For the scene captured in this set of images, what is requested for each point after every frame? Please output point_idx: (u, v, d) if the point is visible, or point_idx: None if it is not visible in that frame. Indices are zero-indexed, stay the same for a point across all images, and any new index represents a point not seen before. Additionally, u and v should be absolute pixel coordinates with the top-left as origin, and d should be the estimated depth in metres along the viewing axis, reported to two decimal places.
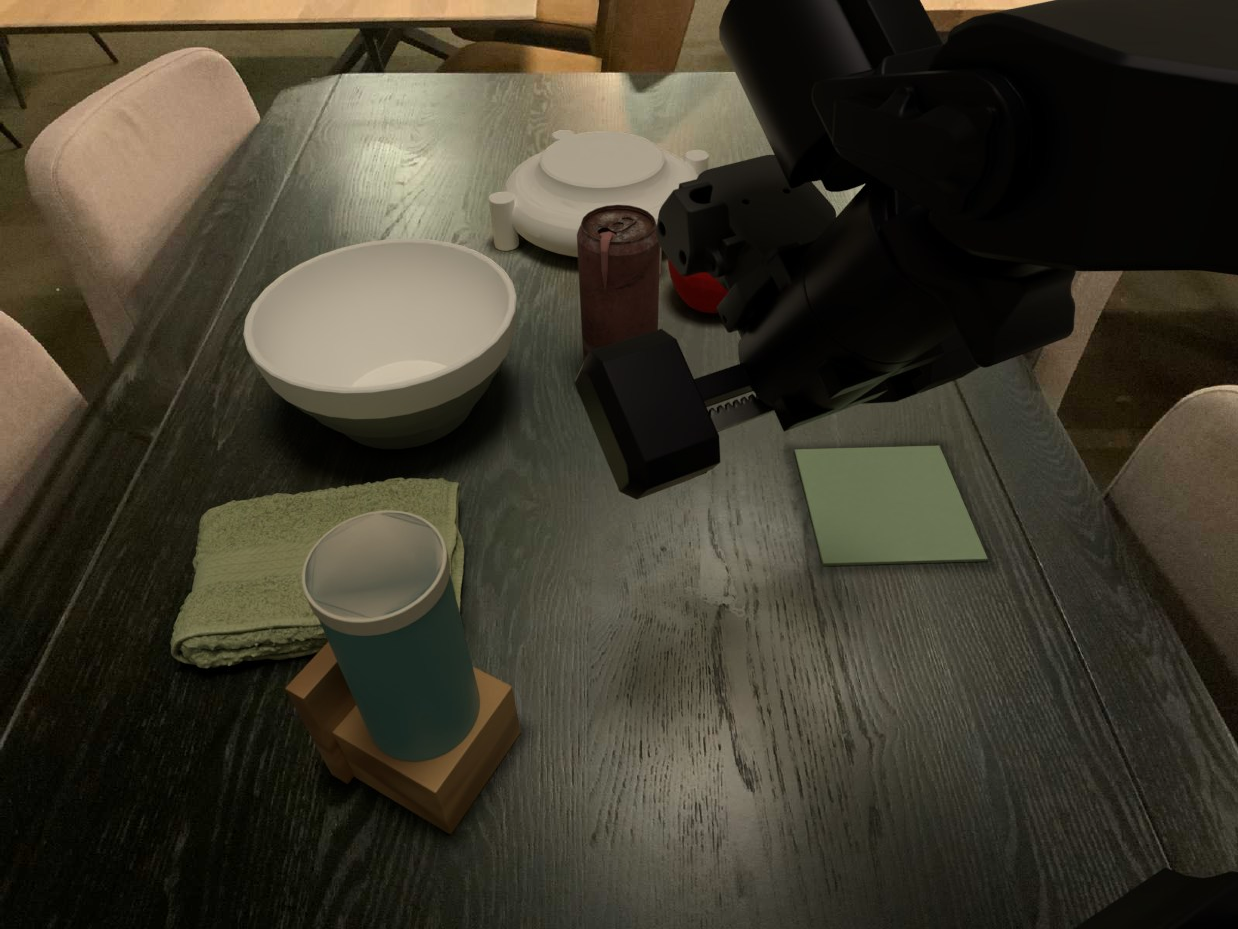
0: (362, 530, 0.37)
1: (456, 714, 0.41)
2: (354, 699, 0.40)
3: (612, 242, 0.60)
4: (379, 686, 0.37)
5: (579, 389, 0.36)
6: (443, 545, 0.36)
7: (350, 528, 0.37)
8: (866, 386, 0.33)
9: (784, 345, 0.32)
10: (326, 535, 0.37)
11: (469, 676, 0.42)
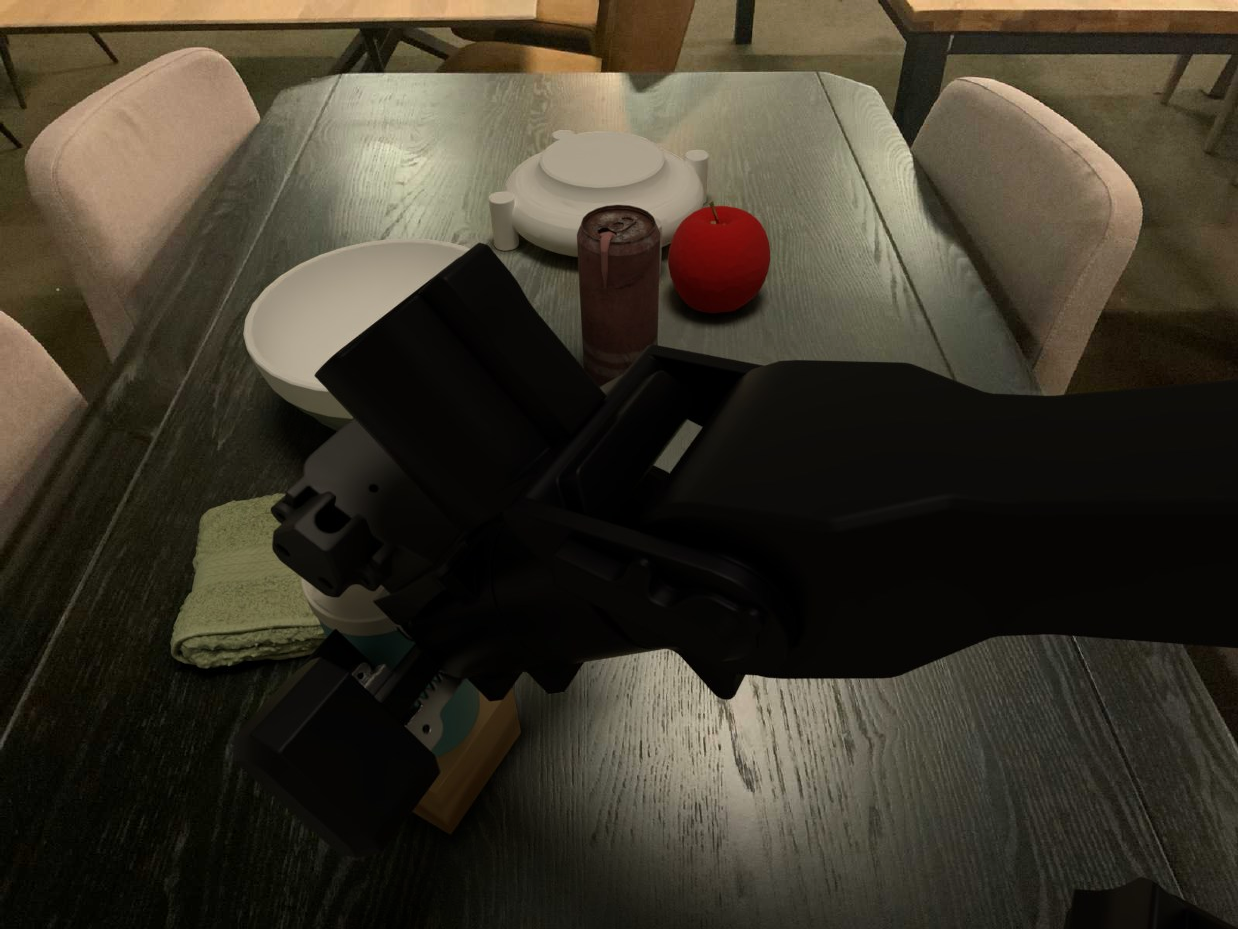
0: None
1: (456, 714, 0.41)
2: None
3: (612, 242, 0.60)
4: None
5: (246, 769, 0.29)
6: None
7: None
8: None
9: (483, 654, 0.29)
10: None
11: None
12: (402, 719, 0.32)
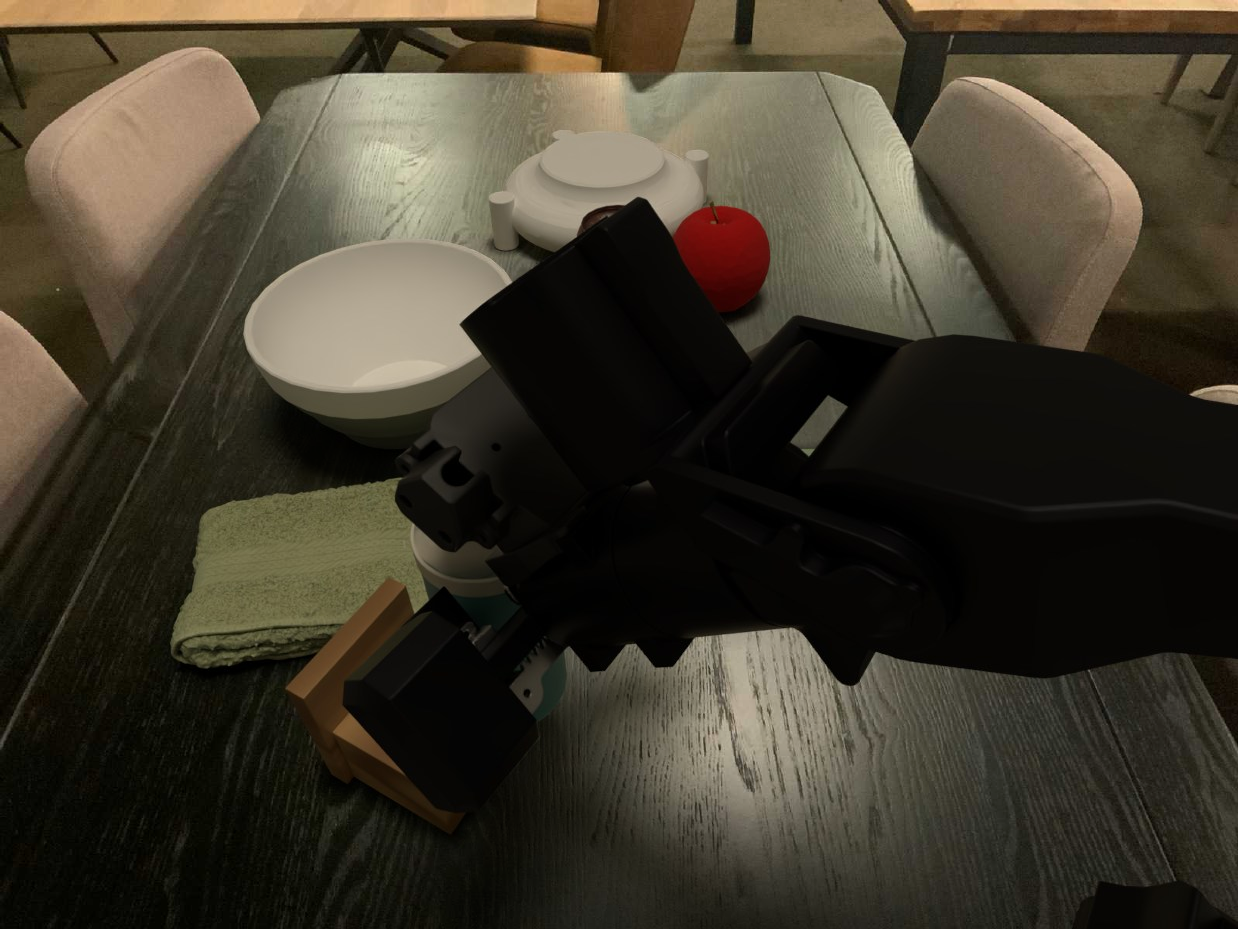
0: None
1: (545, 686, 0.41)
2: None
3: None
4: None
5: (354, 714, 0.29)
6: None
7: None
8: None
9: (593, 621, 0.29)
10: None
11: None
12: None
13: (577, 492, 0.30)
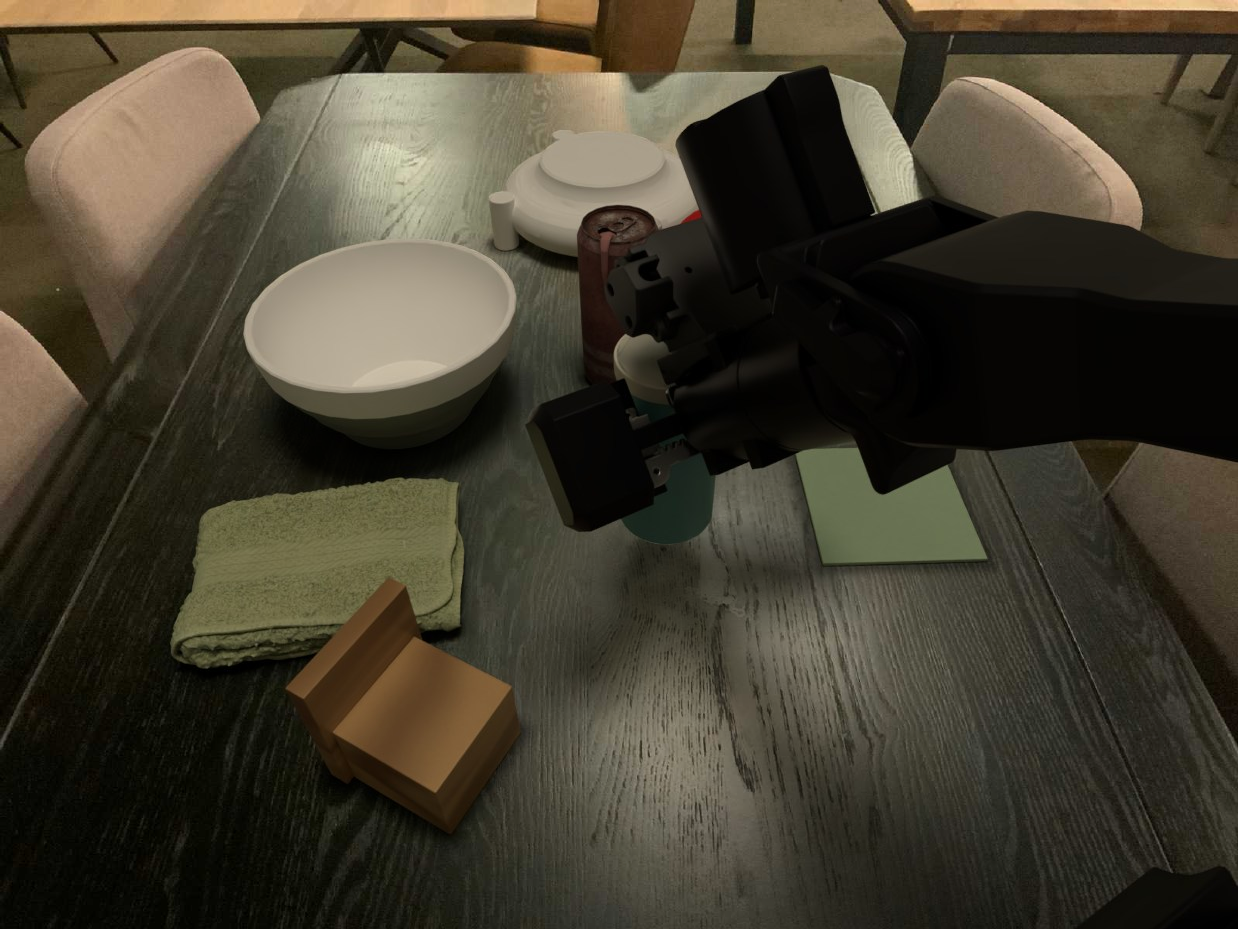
0: None
1: (686, 513, 0.49)
2: None
3: (612, 242, 0.60)
4: None
5: (530, 432, 0.39)
6: None
7: None
8: None
9: (716, 417, 0.37)
10: None
11: (708, 489, 0.49)
12: None
13: (737, 320, 0.37)
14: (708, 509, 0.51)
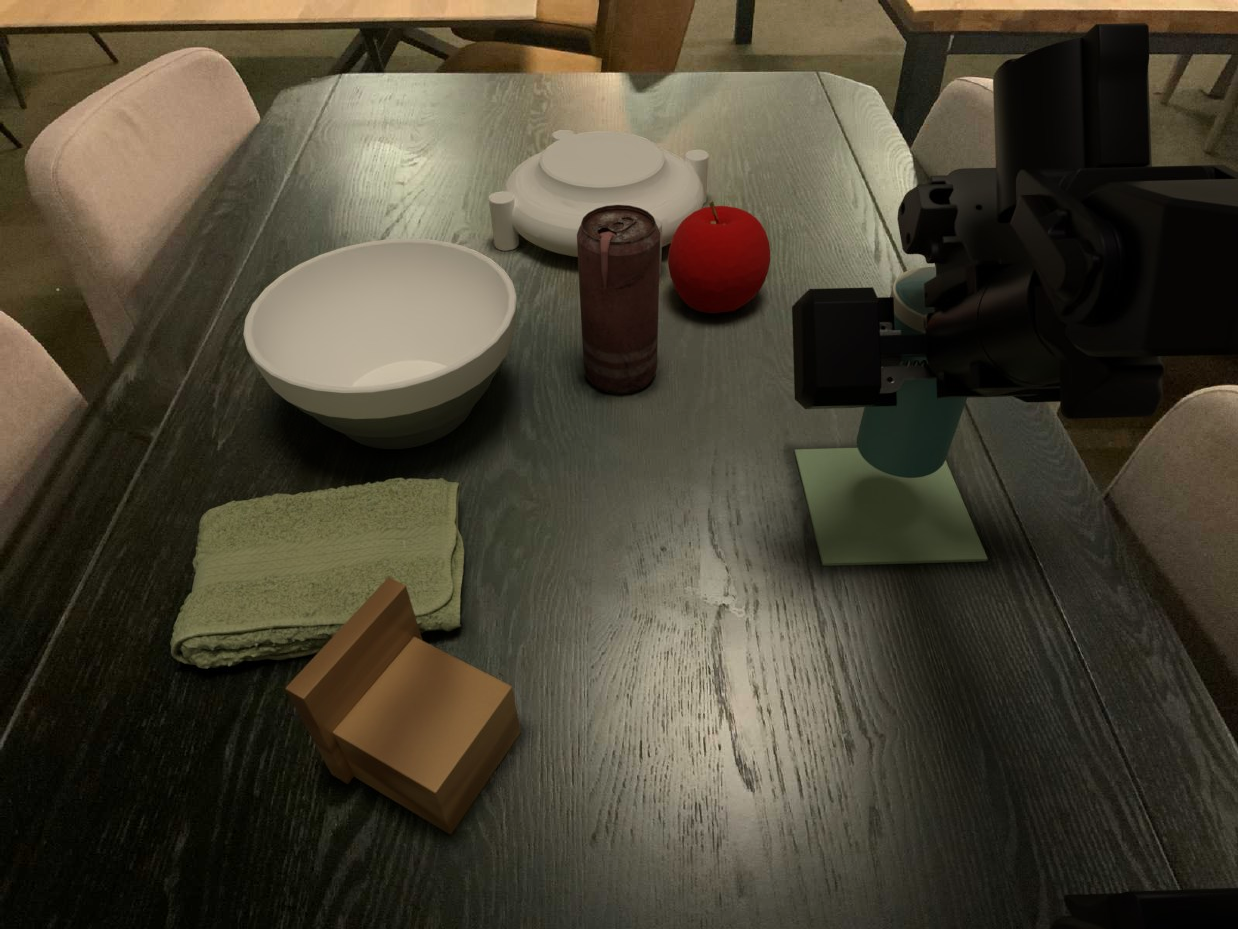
0: None
1: (915, 449, 0.53)
2: None
3: (612, 242, 0.60)
4: None
5: (793, 313, 0.46)
6: None
7: None
8: (1008, 389, 0.41)
9: (954, 337, 0.41)
10: None
11: (943, 434, 0.53)
12: (883, 366, 0.46)
13: (1007, 260, 0.41)
14: (938, 455, 0.54)
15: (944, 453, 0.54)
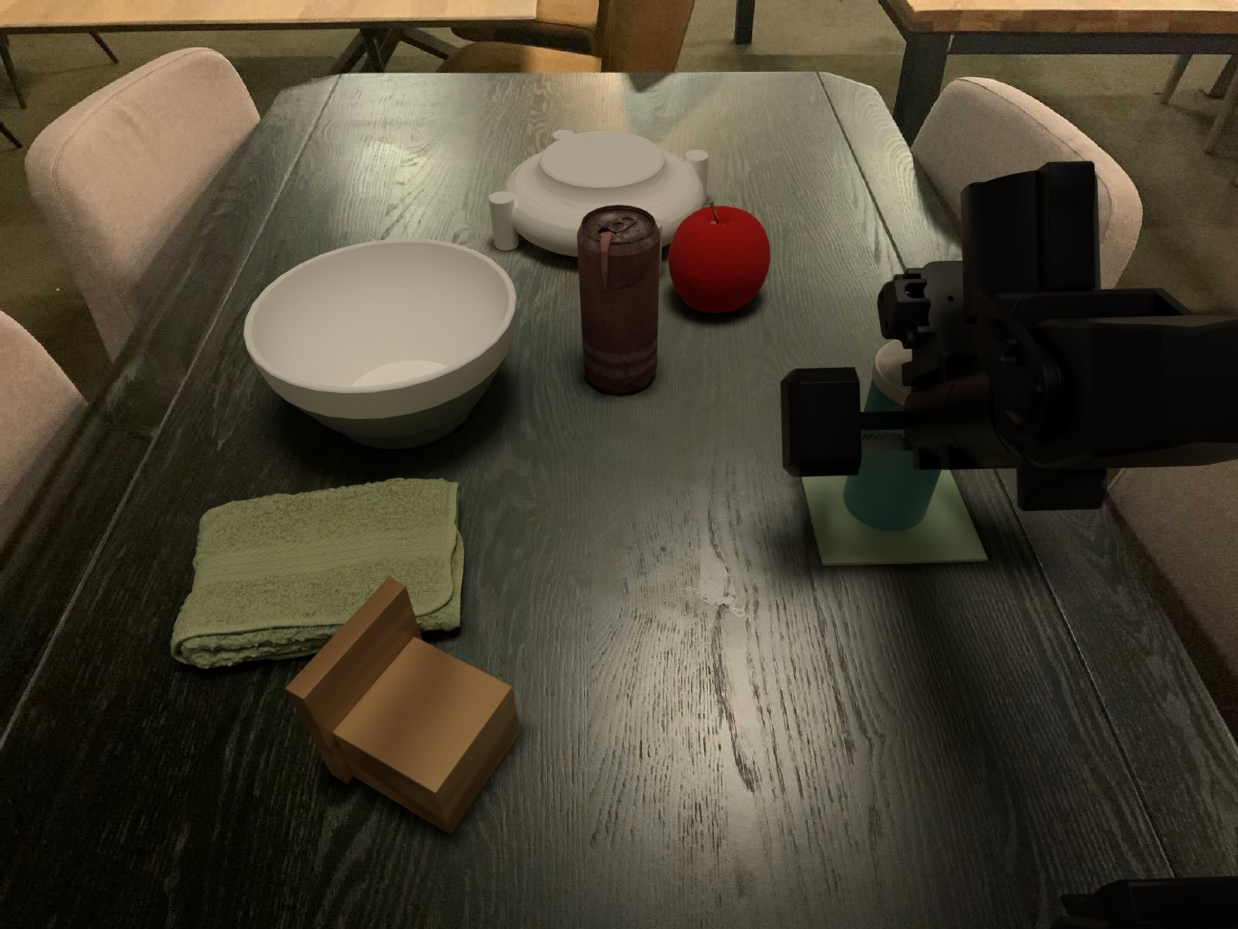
0: None
1: (897, 505, 0.57)
2: None
3: (612, 242, 0.60)
4: None
5: (781, 388, 0.50)
6: None
7: None
8: None
9: (927, 420, 0.45)
10: None
11: (923, 492, 0.56)
12: None
13: None
14: (919, 511, 0.58)
15: (924, 508, 0.58)
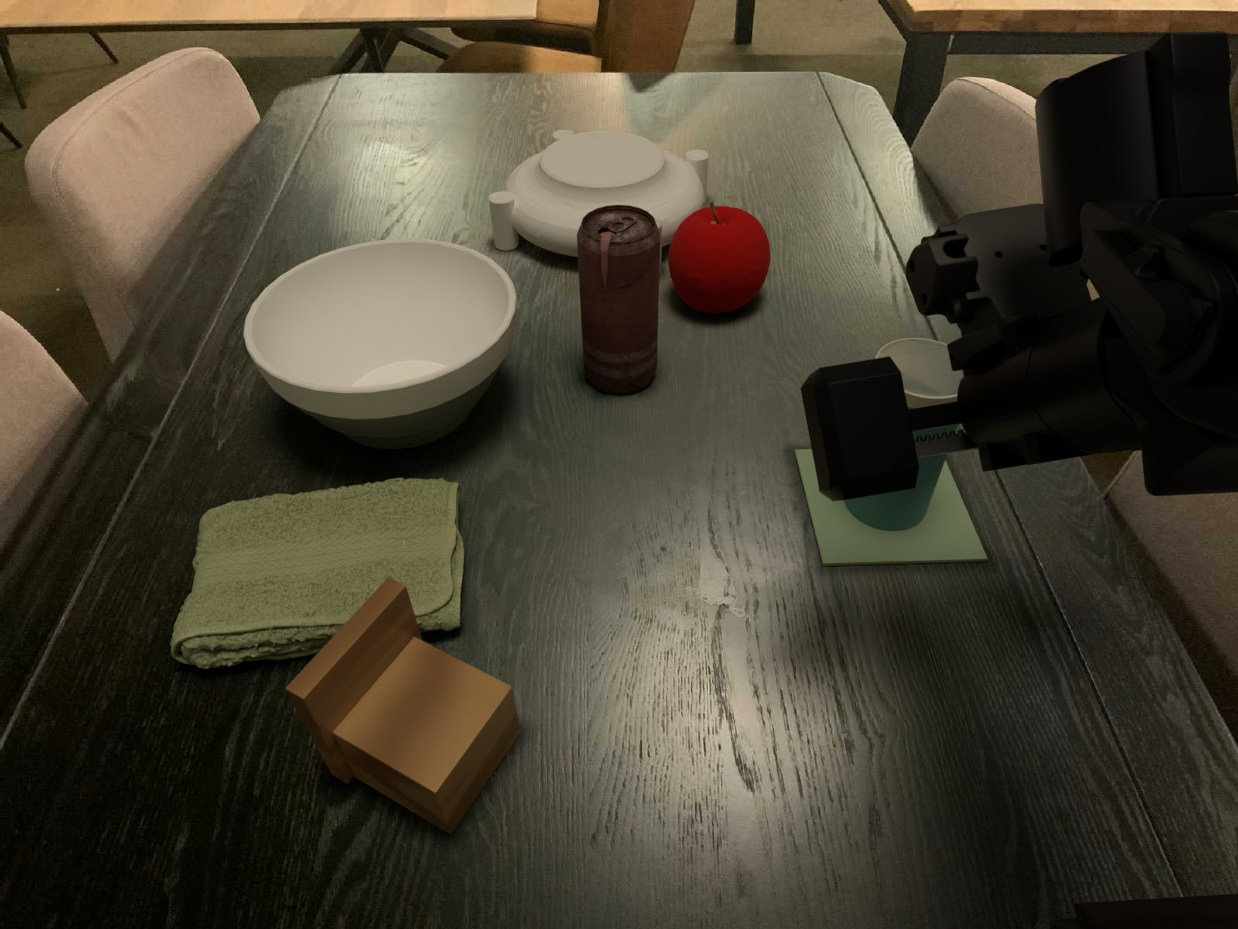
0: (935, 349, 0.54)
1: (897, 505, 0.57)
2: None
3: (612, 242, 0.60)
4: None
5: (804, 395, 0.41)
6: None
7: (930, 344, 0.54)
8: None
9: (998, 405, 0.35)
10: (915, 338, 0.54)
11: (923, 492, 0.56)
12: None
13: (1043, 311, 0.36)
14: (919, 511, 0.58)
15: (924, 508, 0.58)
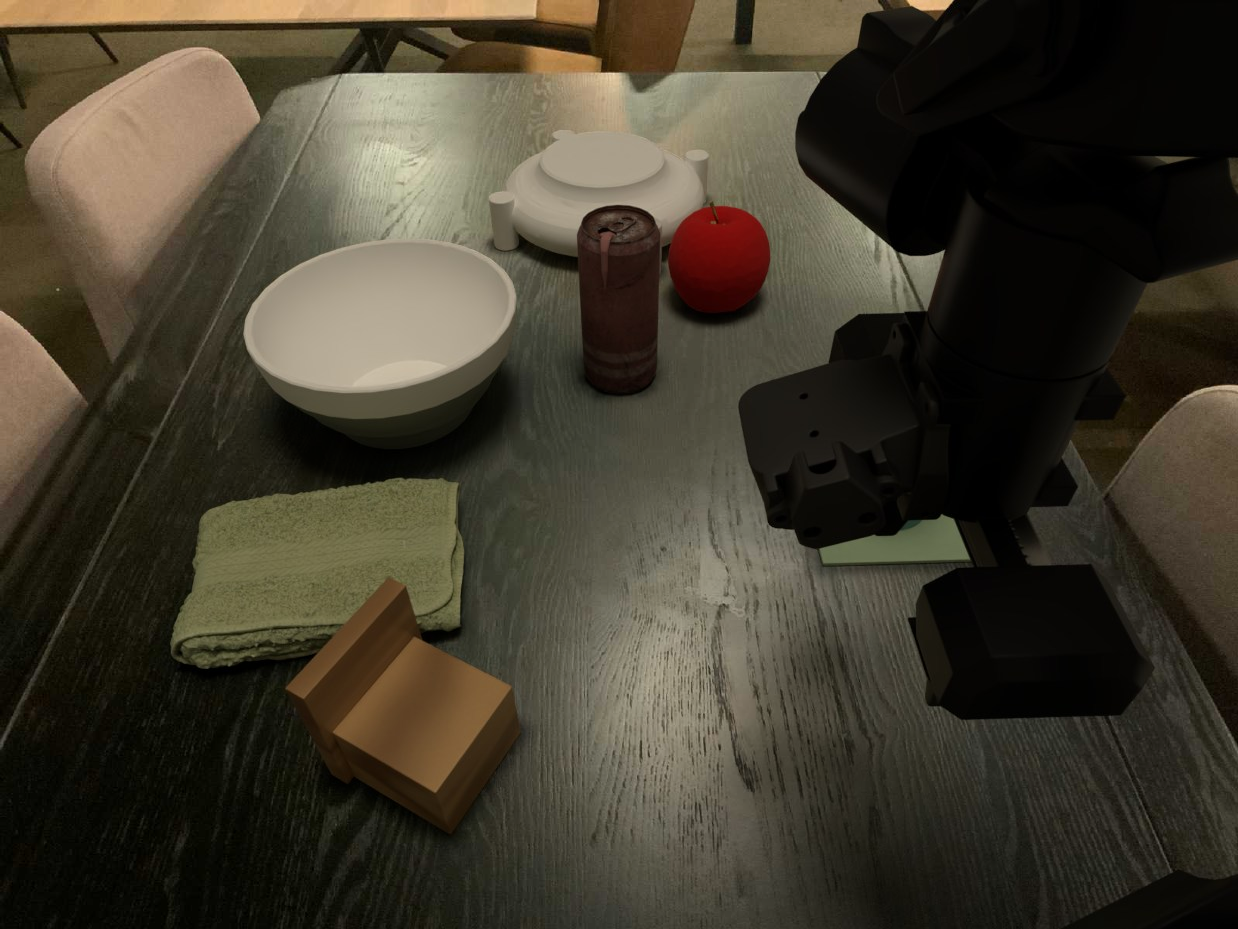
0: None
1: None
2: None
3: (612, 242, 0.60)
4: None
5: (978, 713, 0.27)
6: None
7: None
8: None
9: (1032, 443, 0.27)
10: None
11: None
12: None
13: (899, 392, 0.29)
14: None
15: None
